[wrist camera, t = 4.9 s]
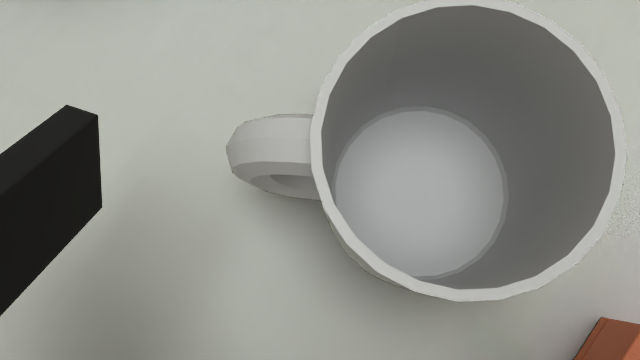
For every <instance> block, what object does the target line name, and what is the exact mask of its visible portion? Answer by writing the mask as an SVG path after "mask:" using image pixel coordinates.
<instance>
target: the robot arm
mask: <svg viewBox="0 0 640 360" xmlns="http://www.w3.org/2000/svg"><path fill="white" fill-rule="evenodd" d="M101 208H102V193H101V172H100V150H99V129H98V115H96V114H93V113H90V112H87V111H84V110H81V109H78V108H75V107H72V106H69V105H66V106H64V107H63V108H62V109H60V110H59V111H58V112H56V113H55V114H54V115H52V116H51V117H50V118H48V119H47V120H46V121H44V122H43V123H42V124H40V125H39V126H37V127H36V128H35V129H33V130H32V131H31V132H29V133H28V134H27V135H25V136H24V137H23V138H21V139H20V140H19V141H17V142H16V143H15V144H13V145H12V146H11V147H9V148H8V149H7V150H5V151H4V152H3V153H1V154H0V316H1V315H2V314H3V313H4V312H5V311H6V309H7V308H8V307H9V306H10V305H11V304H12V303H13V302H14V301H15V300H16V299H17V298H18V297H19V296H20V294H21V293H22V292H23V291H24V290H25V289H26V288H27V287H28V286H29V285H30V284H31V283H32V282H33V281H34V280H35V278H36V277H37V276H38V275H39V274H40V273H41V272H42V271H43V270H44V269H45V268H46V267H47V266H48V265H49V263H50V262H51V261H52V260H53V259H54V258H55V257H56V256H57V255H58V254H59V253H60V252H61V251H62V250H63V249H64V247H65V246H66V245H67V244H68V243H69V242H70V241H71V240H72V239H73V238H74V237H75V236H76V235H77V234H78V232H79V231H80V230H81V229H82V228H83V227H84V226H85V225H86V224H87V223H88V222H89V221H90V220H91V219H92V218H93V216H94V215H95V214H96V213H97V212H98V211H99V210H100V209H101Z"/></svg>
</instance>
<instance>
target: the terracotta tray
mask: <svg viewBox="0 0 640 360" xmlns="http://www.w3.org/2000/svg"><path fill="white" fill-rule="evenodd" d="M574 360H640V324H635V323H629V322H624V321H619V320H614V319H608V318H603V317H602V318H601V319H600V320H599V322H598V323H597V325H596V326H595V328H594V329H593V331H592V332H591V334H590V336H589V337H588V339H587V340H586V342H585V343H584V345H583V346H582V348H581V350H580V351H579V353H578V354H577V356H576V357H575V359H574Z"/></svg>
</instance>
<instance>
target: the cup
mask: <svg viewBox="0 0 640 360" xmlns="http://www.w3.org/2000/svg"><path fill="white" fill-rule="evenodd" d="M226 153H227V156H228V160H229V163H230V166H231V170H232V173H233V174H235V175H236V176H237V177H238V178H240V179H242V180H244V181H246V182H248V183H249V184H251V185H253V186H255V187H257V188H259V189H262V190H264V191H267V192H271V193H274V194H279V195H284V196H289V197H297V198H305V199H315V200H321V202H322V205H323V208H324V211H325V213H326V216H327V219H328V221H329V224H330V227H331V229H332V231H333V233H334V235H335V236H336V238H337V239H338V241H339V242H340V244H341V246H342V247H343V249H344V250H345V252H346V253H347V254H348V255H349V256H350V257H351V258H352V259H353V260H354V261H356V262H357V263H358V264H359V265H360V266H361V267H362V268H363V269H364V270H365V271H367V272H369V273H371V274H373V275H375V276H377V277H378V278H380V279H382V280H384V281H386V282H388V283H390V284H393V285H396V286H399V287H402V288H405V289H408V290H411V291H414V292H418V293H422V294H426V295H430V296H435V297H439V298H443V299H448V300H452V301H456V302H463V301H488V300H502V299H505V298H509V297H512V296H515V295H518V294H521V293H525V292H528V291H531V290H534V289H537V288H541V287H543V286H544V285H546V284H547V283H549V282H550V281H552V280H553V279H555V278H556V277H558V276H559V275H561V274H562V273H564V272H565V271H567V270H568V269H570V268H571V267H573V266H574V265H576V264H577V263H578V262H579V261H580V260H581V259H582V257H583V256H584V255H585V254H586V253H587V252H588V250H589V249H590V248H591V247H592V246H593V245H594V244H595V242H596V241H597V240H598V239H599V238H600V237H601V236H602V234H603V233H604V232H605V229H606V227H607V225H608V223H609V221H610V218H611V216H612V214H613V212H614V210H615V207H616V205H617V203H618V201H619V199H620V197H621V193H622V186H623V180H624V173H625V167H626V160H627V148H626V140H625V132H624V124H623V116H622V113H621V110H620V108H619V105H618V103H617V100H616V98H615V95H614V93H613V91H612V88H611V86H610V83H609V81H608V78H607V76H606V75H605V74H604V72H603V71H602V70H601V68H600V67H599V66H598V64H597V63H596V62H595V60H594V59H593V58H592V57H591V55H590V54H589V53H588V51H587V50H586V49H585V47H584V46H583V45H582V44H581V43H580V42H579V41H577V40H576V39H575V38H574V37H572V36H571V35H570V34H569V33H567V32H566V31H565V30H564V29H562V28H561V27H560V26H559V25H557V24H556V23H555V22H554V21H552V20H551V19H549V18H547V17H545V16H543V15H541V14H538V13H536V12H534V11H532V10H530V9H527V8H525V7H523V6H521V5H518V4H516V3H514V2H510V1H504V0H424V1H421V2H417V3H414V4H411V5H408V6H405V7H401V8H398V9H396V10H394V11H393V12H391V13H390V14H388V15H386V16H385V17H383V18H382V19H380V20H378V21H377V22H375V23H374V24H372V25H370V26H369V27H367V28H365V29H364V30H363V31H362V32H361V33H360V34H359V35H358V36H357V37H356V38H355V39H354V40H353V42H352V43H351V44H350V45H349V46H348V47H347V48H346V49H345V50H344V51H343V52H342V53H341V54H340V55H339V56H338V57H337V59H336V61H335V63H334V65H333V66H332V68H331V70H330V72H329V74H328V76H327V78H326V79H325V81H324V83H323V85H322V87H321V89H320V91H319V93H318V98H317V102H316V106H315V110H314V115H307V114H278V115H273V116H269V117H264V118H259V119H255V120H250V121H246V122H244V123H243V124H241V125H240V126H239V127H237V128H236V130H235V132H234V133H233V135H232V137H231V139H230V140H229V142H228V144H227V146H226Z"/></svg>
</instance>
